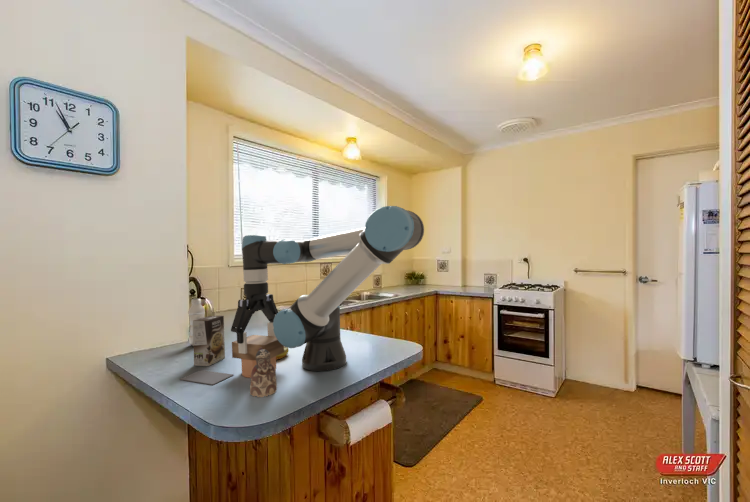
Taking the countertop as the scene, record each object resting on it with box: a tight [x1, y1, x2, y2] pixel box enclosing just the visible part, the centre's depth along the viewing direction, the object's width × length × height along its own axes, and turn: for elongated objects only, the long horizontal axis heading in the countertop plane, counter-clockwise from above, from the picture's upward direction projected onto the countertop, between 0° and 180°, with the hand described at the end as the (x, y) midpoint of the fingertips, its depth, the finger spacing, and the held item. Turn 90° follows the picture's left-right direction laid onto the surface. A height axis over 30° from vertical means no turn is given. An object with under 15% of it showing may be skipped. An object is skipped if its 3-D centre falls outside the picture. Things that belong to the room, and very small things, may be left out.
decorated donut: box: [276, 346, 290, 361], centre depth 124 cm, size 11×12×4 cm
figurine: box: [249, 347, 278, 398], centre depth 93 cm, size 7×7×12 cm
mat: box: [179, 369, 234, 386], centre depth 106 cm, size 14×8×1 cm, turn 68°
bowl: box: [240, 356, 277, 379], centre depth 109 cm, size 10×10×6 cm
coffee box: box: [192, 315, 226, 367], centre depth 121 cm, size 9×6×16 cm
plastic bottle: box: [187, 297, 206, 347], centre depth 144 cm, size 6×7×20 cm
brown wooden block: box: [231, 334, 284, 360], centre depth 109 cm, size 13×10×5 cm
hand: (258, 346), depth 109 cm, fingers open, 13 cm apart
